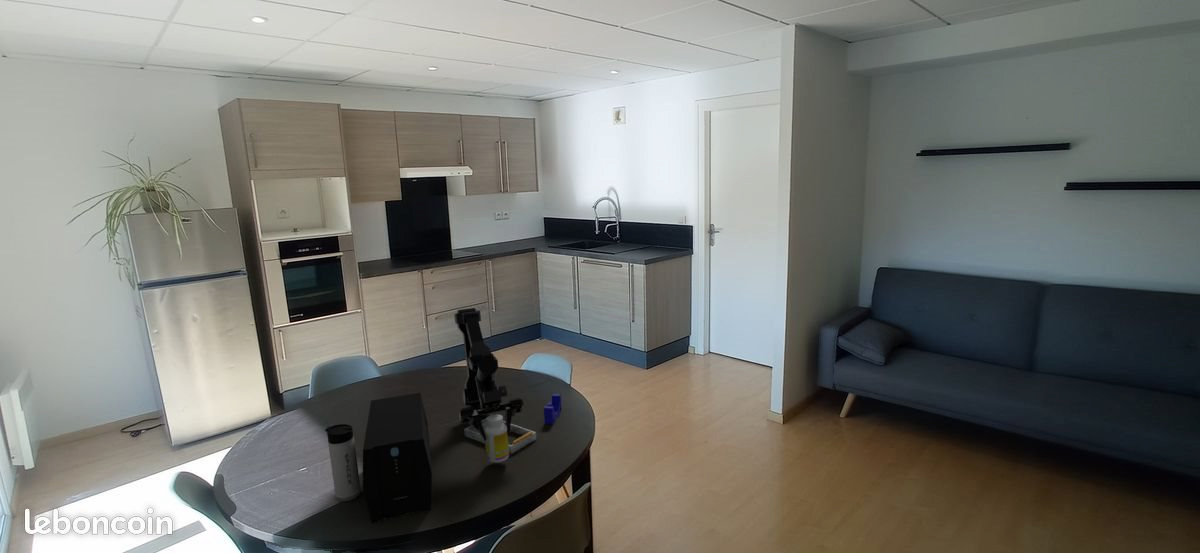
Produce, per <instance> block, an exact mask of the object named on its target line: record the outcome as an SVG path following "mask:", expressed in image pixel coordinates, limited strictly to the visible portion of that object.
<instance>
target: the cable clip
mask: <svg viewBox="0 0 1200 553" xmlns="http://www.w3.org/2000/svg"><path fill="white" fill-rule="evenodd" d="M562 410H563V408H562V394H560V393H553V394H551V401H549V402H547V405H545V406H543V416H544V419H543V420H544V424H545V425H554V423H555V422H556V420H557V418H558V417H559V415H560V413H561V411H562Z"/></svg>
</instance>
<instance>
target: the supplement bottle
mask: <svg viewBox="0 0 1200 553" xmlns="http://www.w3.org/2000/svg"><path fill="white" fill-rule="evenodd" d="M489 415H490V416H488V417H487V424H488V425H487V426H486V427H485V429H484V432H485V437H486V441H485V445H484V446H485V455H486V457H485V458H486V460H487V461H488V462H490V463H495V464H496V463H497V464H498V463H501V462H502V463H503V462H504V461H506V460H507V459H508V458H509V456H510V453H509V447H508V442H509V438H508V437H509V436H508V434H507V426H506V425H505V424H504V423H502V422H503V421H504V416H503V415H502V414H498V413H497V414H495V413H494V414H489Z"/></svg>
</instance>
